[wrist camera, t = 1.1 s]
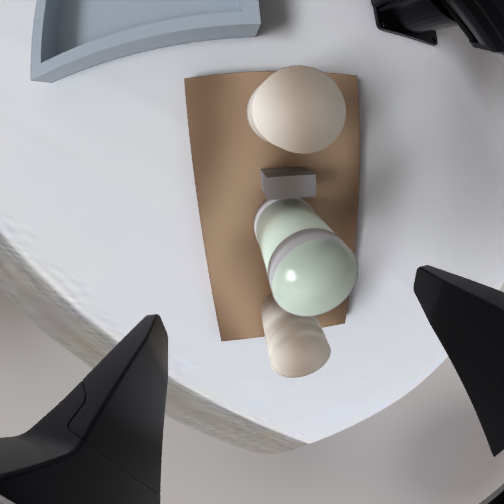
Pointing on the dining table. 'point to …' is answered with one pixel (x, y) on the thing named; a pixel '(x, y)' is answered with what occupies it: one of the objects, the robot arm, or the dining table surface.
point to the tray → (128, 29)
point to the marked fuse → (303, 257)
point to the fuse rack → (271, 191)
